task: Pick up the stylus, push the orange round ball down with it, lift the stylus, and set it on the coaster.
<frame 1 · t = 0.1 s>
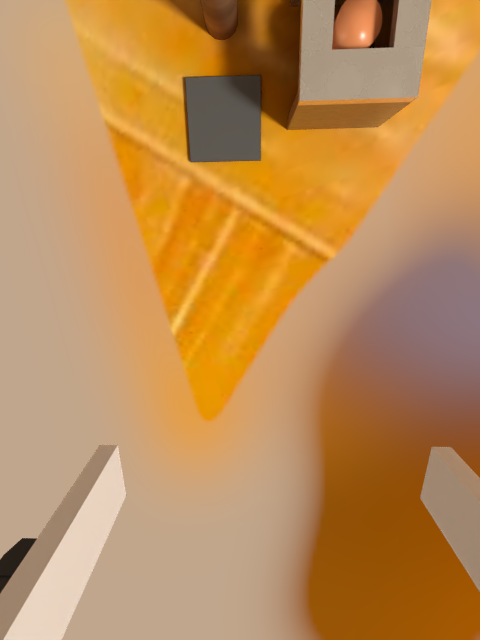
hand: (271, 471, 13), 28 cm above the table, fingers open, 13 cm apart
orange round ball: (350, 38, 27), point 4 cm above the table, slide at 0.0 cm
coaster: (224, 121, 33), on the table
stylus: (221, 19, 30), on the table
grey box with hole: (336, 62, 31), on the table
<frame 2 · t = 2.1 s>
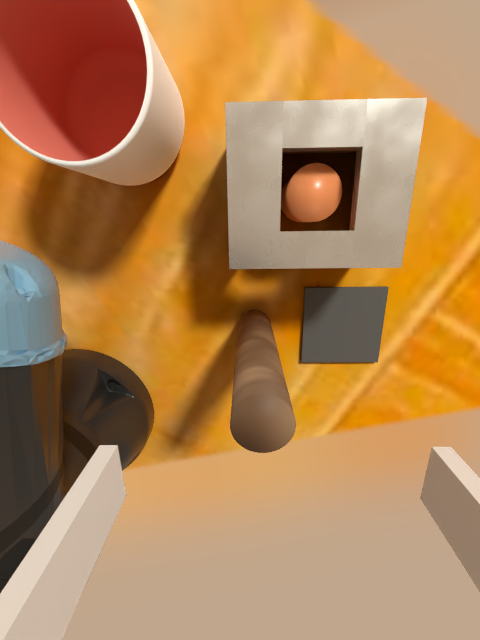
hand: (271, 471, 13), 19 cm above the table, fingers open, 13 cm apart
cup: (130, 124, 25), on the table
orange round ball: (308, 196, 23), point 4 cm above the table, slide at 0.0 cm
coaster: (341, 325, 30), on the table
stylus: (254, 325, 31), on the table
grey box with hole: (298, 200, 27), on the table
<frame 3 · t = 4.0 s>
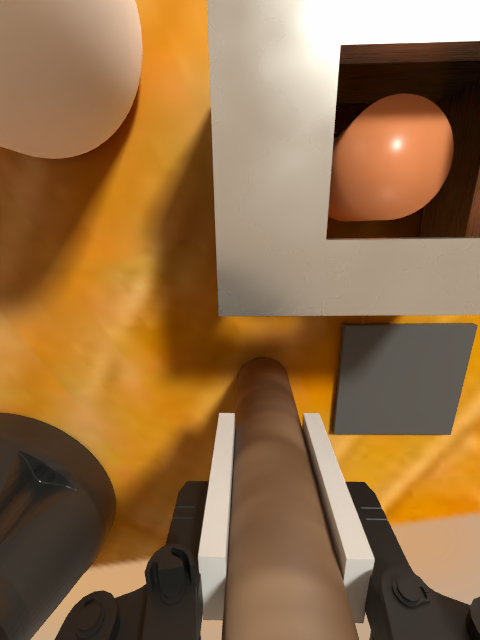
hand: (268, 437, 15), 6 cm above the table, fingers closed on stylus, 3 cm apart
cup: (53, 54, 15), on the table
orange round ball: (368, 171, 12), point 4 cm above the table, slide at 0.0 cm
coaster: (397, 380, 20), on the table
stylus: (262, 380, 20), on the table, touching gripper
grey box with hole: (338, 185, 16), on the table
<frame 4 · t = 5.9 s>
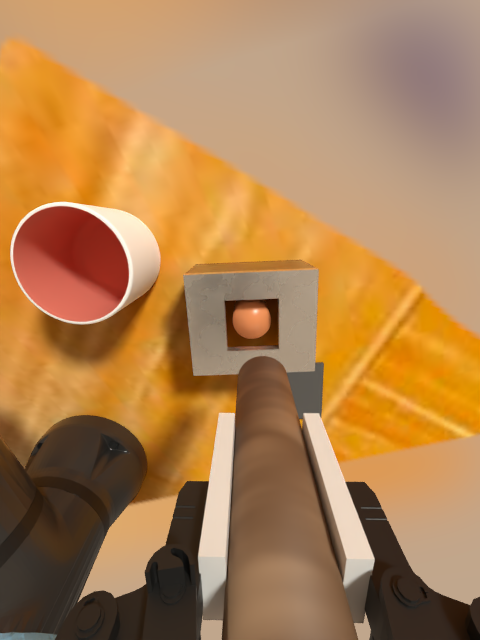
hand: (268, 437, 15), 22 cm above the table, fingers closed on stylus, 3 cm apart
cup: (120, 255, 34), on the table
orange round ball: (251, 314, 31), point 4 cm above the table, slide at 0.0 cm
coaster: (291, 391, 39), on the table
stylus: (262, 378, 20), point 16 cm above the table, touching gripper
grey box with hole: (250, 304, 35), on the table
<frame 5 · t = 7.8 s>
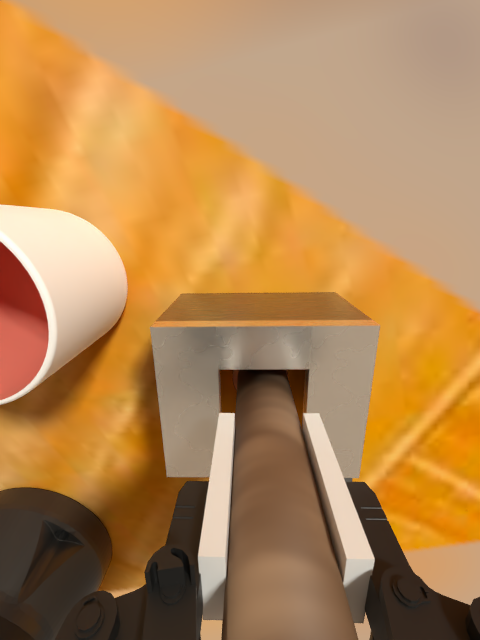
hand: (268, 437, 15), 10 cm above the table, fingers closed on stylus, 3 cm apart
cup: (70, 277, 23), on the table
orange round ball: (258, 363, 22), point 2 cm above the table, slide at 2.0 cm, touching stylus
stylus: (262, 378, 20), point 4 cm above the table, touching gripper, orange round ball
grey box with hole: (257, 351, 25), on the table
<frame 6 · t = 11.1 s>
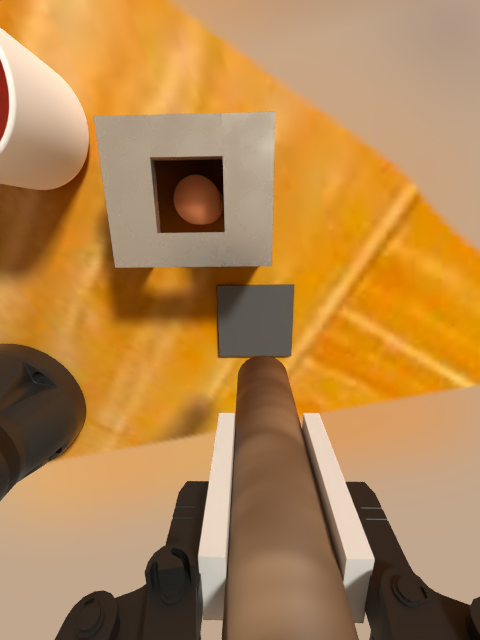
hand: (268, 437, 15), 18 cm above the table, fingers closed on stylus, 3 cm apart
cup: (42, 133, 27), on the table
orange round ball: (200, 202, 26), point 2 cm above the table, slide at 2.0 cm
coaster: (255, 321, 32), on the table
stylus: (262, 377, 20), point 12 cm above the table, touching gripper
grey box with hole: (203, 203, 29), on the table
when the fingers open (6 cm above the table, at t = 13.3 s): stylus stays where it is, resting on coaster.
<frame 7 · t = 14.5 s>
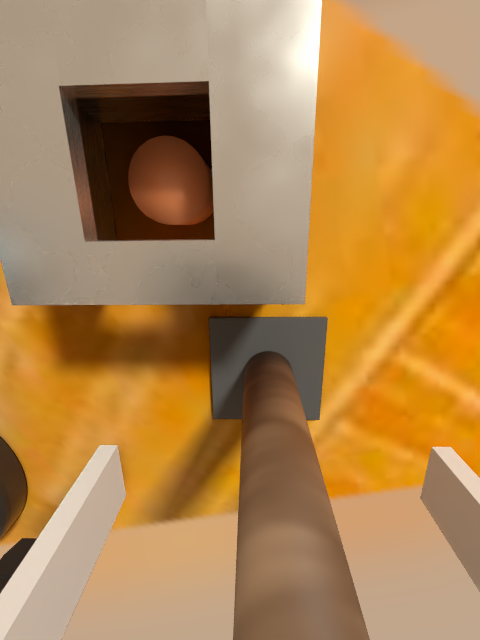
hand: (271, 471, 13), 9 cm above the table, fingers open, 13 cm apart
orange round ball: (179, 187, 16), point 2 cm above the table, slide at 2.0 cm
coaster: (266, 369, 22), on the table
stylus: (268, 372, 21), resting on coaster
grey box with hole: (187, 192, 18), on the table
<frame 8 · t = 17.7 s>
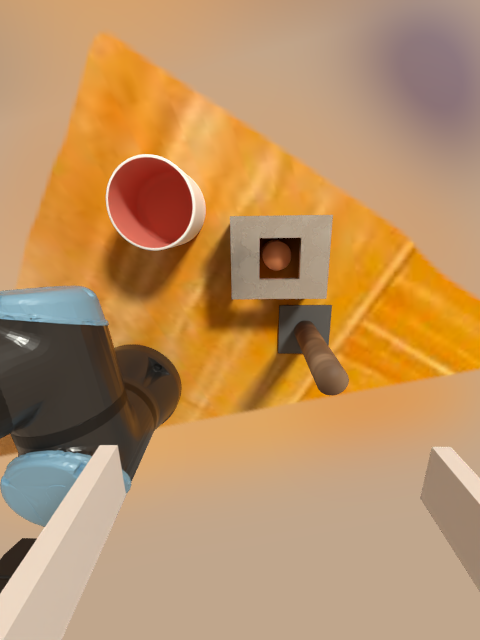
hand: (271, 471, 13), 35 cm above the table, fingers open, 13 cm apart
cup: (172, 209, 42), on the table
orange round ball: (275, 254, 42), point 2 cm above the table, slide at 2.0 cm
coaster: (303, 329, 47), on the table
stylus: (304, 330, 47), resting on coaster
grey box with hole: (274, 253, 44), on the table
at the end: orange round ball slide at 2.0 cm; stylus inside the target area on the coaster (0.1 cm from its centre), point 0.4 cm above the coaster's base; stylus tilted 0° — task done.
